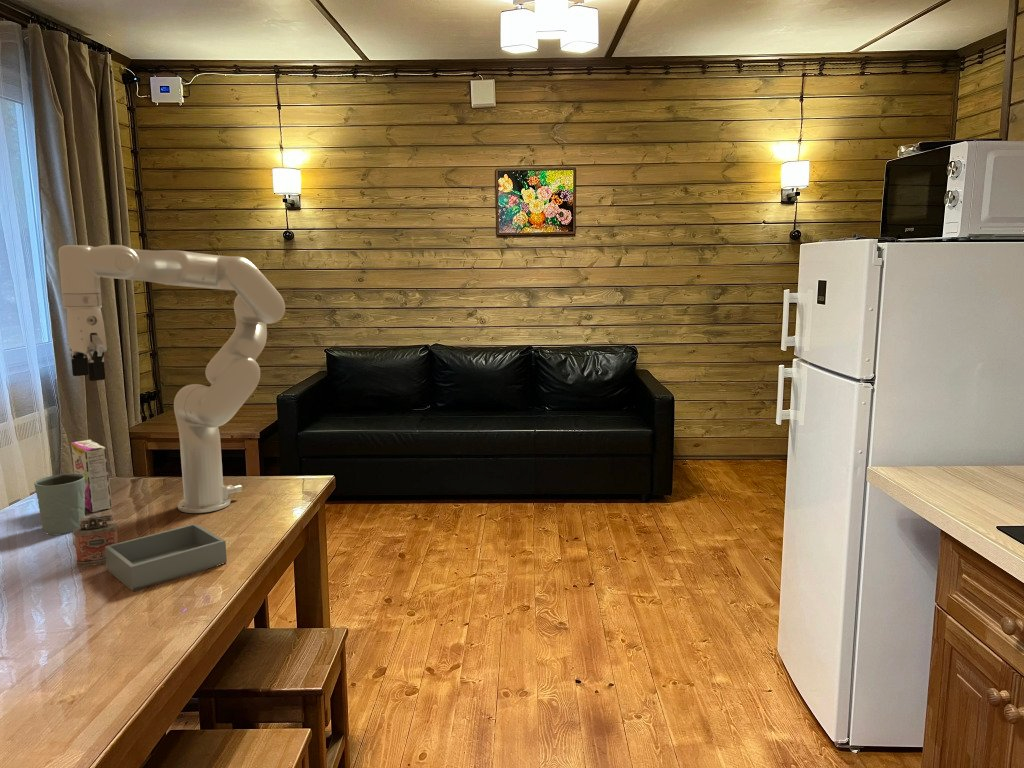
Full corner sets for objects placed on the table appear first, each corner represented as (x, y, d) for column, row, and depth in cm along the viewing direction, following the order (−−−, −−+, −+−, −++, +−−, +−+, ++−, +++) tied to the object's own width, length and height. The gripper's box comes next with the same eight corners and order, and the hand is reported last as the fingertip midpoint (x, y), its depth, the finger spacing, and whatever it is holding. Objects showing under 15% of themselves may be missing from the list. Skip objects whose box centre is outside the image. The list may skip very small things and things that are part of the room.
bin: (196, 544, 166) (195, 523, 165) (226, 563, 156) (225, 540, 155) (106, 569, 152) (104, 546, 152) (133, 591, 142) (131, 567, 142)
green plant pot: (39, 539, 169) (33, 488, 167) (39, 525, 177) (34, 477, 175) (90, 530, 174) (85, 481, 172) (88, 517, 183) (83, 470, 181)
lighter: (76, 568, 153) (71, 521, 152) (77, 562, 156) (72, 516, 155) (120, 560, 157) (116, 515, 155) (120, 555, 160) (116, 510, 158)
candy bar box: (75, 503, 193) (69, 442, 190) (96, 499, 197) (91, 438, 194) (91, 513, 185) (84, 450, 183) (112, 508, 189) (106, 446, 186)
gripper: (115, 302, 162) (121, 380, 165) (86, 299, 173) (92, 372, 176) (78, 304, 156) (85, 384, 159) (49, 300, 168) (56, 375, 171)
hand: (88, 377), depth 168 cm, fingers open, 9 cm apart
